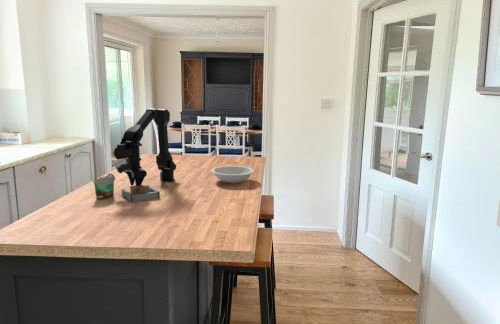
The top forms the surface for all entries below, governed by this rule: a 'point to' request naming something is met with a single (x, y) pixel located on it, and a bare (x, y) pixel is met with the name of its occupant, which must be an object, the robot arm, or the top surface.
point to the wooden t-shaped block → (139, 189)
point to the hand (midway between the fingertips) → (134, 187)
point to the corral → (141, 195)
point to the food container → (104, 187)
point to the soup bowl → (232, 173)
